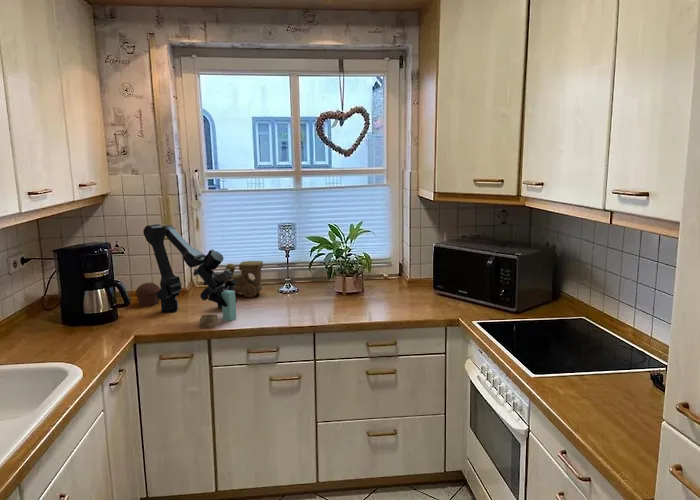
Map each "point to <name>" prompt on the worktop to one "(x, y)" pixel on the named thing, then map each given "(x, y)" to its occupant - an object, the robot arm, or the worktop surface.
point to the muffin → (147, 294)
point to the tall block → (229, 305)
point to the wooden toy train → (247, 278)
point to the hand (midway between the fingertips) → (231, 304)
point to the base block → (208, 321)
